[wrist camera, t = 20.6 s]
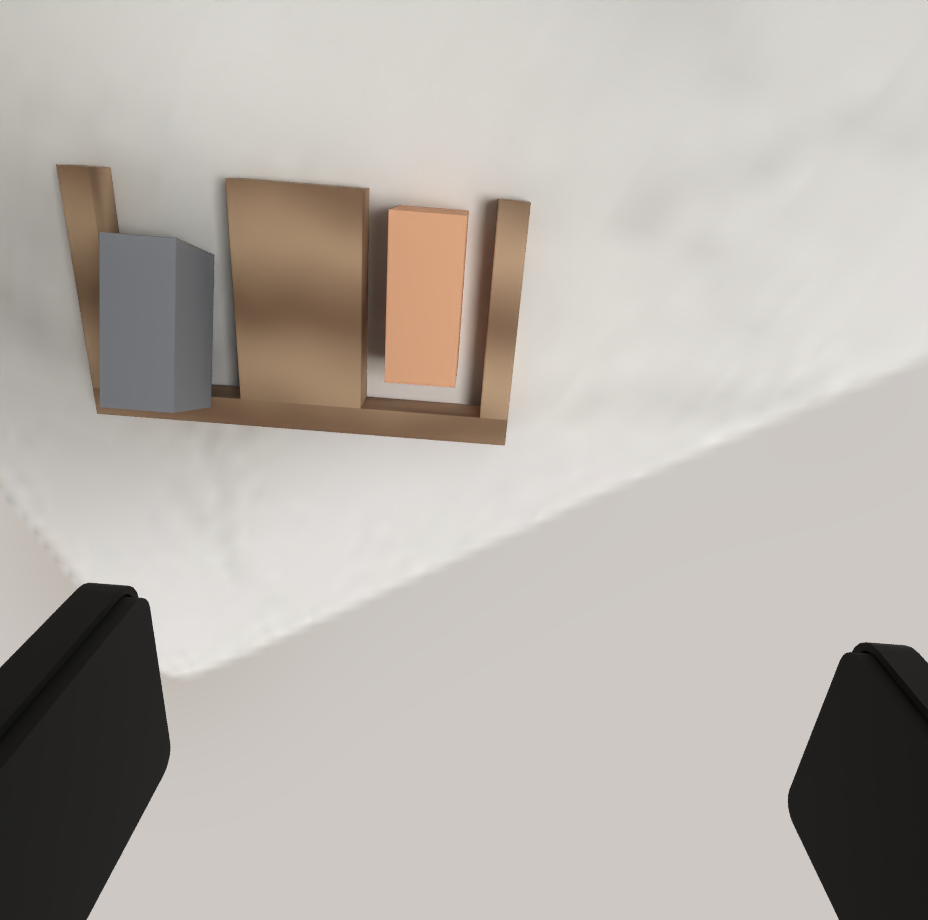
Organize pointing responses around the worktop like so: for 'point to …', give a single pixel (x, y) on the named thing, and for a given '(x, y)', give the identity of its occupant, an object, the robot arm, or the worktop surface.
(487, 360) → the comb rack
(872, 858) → the robot arm
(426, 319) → the terracotta stub
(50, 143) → the worktop surface
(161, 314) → the grey stub
